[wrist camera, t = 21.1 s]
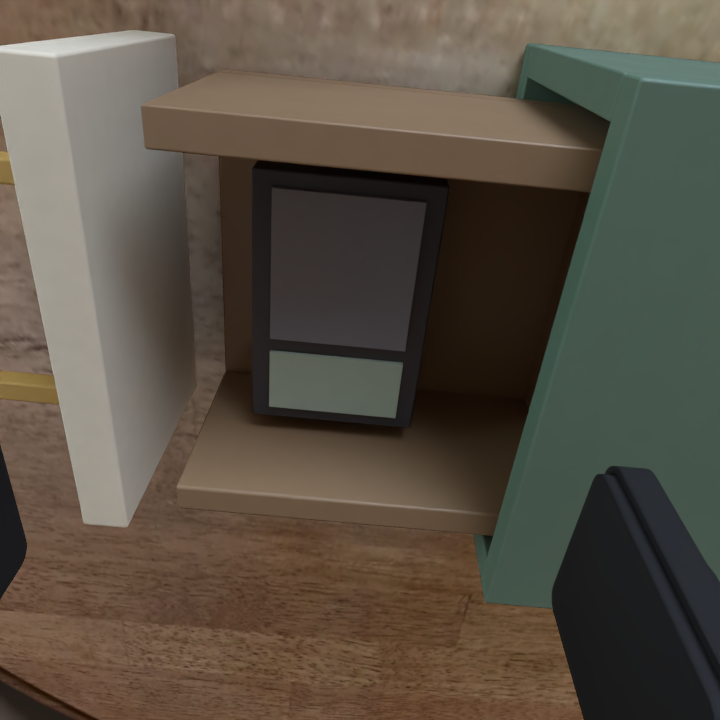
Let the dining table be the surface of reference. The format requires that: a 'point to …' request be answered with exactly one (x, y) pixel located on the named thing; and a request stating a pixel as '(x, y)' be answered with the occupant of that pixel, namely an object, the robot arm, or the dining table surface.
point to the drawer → (173, 288)
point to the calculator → (341, 290)
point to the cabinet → (624, 318)
